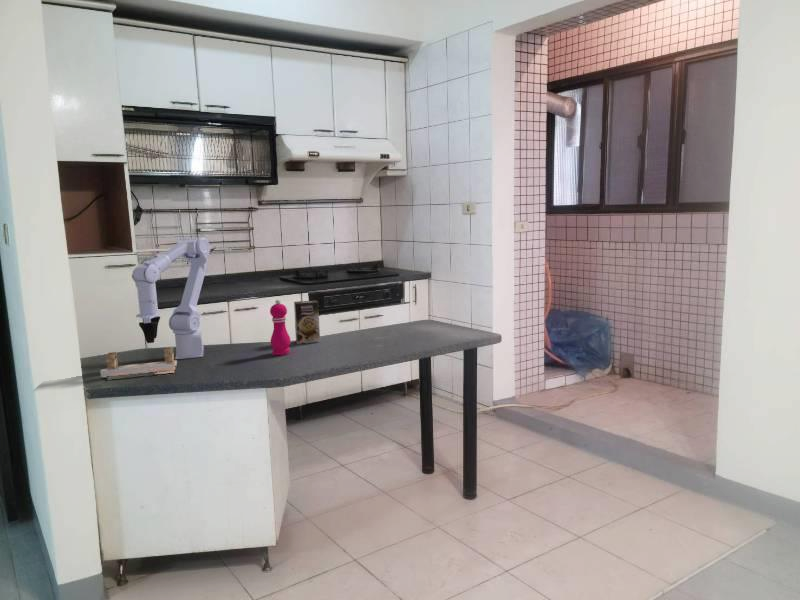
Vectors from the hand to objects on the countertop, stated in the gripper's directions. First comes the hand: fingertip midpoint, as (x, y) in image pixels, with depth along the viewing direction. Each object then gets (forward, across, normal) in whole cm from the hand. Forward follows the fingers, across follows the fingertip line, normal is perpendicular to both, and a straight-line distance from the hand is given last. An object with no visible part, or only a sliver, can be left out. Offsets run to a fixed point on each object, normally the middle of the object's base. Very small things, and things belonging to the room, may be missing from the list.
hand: (151, 340), depth 200 cm
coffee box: (+10, -17, +55) cm, 58 cm away
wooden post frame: (+9, 0, -4) cm, 10 cm away
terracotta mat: (+9, +8, -3) cm, 13 cm away
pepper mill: (+10, -1, +43) cm, 44 cm away
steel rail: (+9, +8, -4) cm, 13 cm away
